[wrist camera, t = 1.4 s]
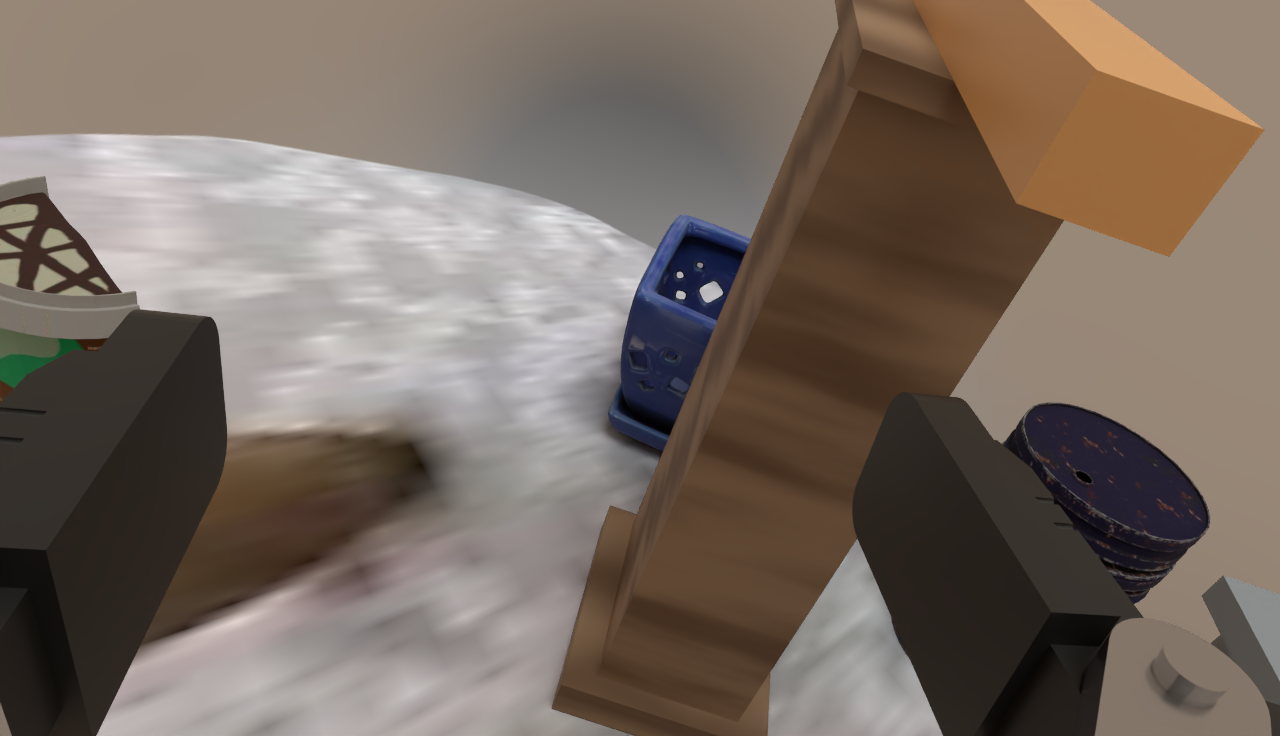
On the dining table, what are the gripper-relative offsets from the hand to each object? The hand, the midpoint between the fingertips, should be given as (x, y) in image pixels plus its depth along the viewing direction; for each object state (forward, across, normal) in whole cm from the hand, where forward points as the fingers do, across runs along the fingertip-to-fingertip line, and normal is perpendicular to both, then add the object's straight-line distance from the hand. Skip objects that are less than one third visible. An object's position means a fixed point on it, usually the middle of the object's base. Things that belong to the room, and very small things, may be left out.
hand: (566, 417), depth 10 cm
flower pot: (+40, -14, +28) cm, 51 cm away
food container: (+32, +24, +25) cm, 48 cm away
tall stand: (+22, -10, +29) cm, 38 cm away
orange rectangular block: (+16, -12, -2) cm, 20 cm away
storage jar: (+24, -29, +31) cm, 49 cm away
